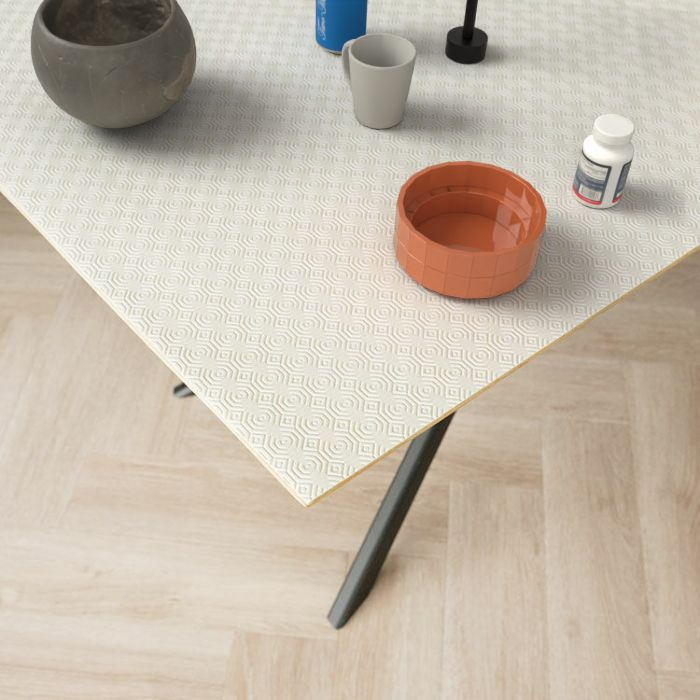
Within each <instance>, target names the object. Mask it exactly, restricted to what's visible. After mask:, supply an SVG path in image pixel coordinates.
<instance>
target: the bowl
mask: <svg viewBox="0 0 700 700" xmlns="http://www.w3.org/2000/svg"><path fill="white" fill-rule="evenodd" d="M197 55H198V54H197V44H196V39H195V35H194V31H193V28H192V26H191V24H190V21H189V19H188V16H186V13H185V11H184V10H183V8H182V7H181V5H180V4H179V2H178V1H177V0H42V1H41V3H40V4H39V6H38V8H37V10H36V13H35V14H34V17H33V21H32V26H31V32H30V56H31V63H32V66H33V70H34V73H35V75H36V78H37V81H38V82H39V83H40V86H41V87H42V89H43V91H44V92H45V94H46V95H47V97H49V99H50V100H51V101H52V102H53V104H55V105H56V106H57V107H58V108H59V109H60V110H61V111H63V112H64V113H66V114H67V115H69V116H71V117H72V118H74V119H76V120H78V121H80V122H83V123H84V124H87V125H91V126H94V127H99V128H103V129H104V128H105V129H126V128H130V127H135V126H138V125H141V124H142V125H143V124H145V123H148V122H150V121H152V120H154V119H157V118H158V117H160V116H162V115H163V114H164V113H166V112H167V111H168V110H170V109H171V108H172V107H173V106H174V105H175V104H176V103H178V101H180V99H181V98H182V97H183V96H184V94H185V93H186V92H187V91H188V88H189V87H190V85H191V83H192V81H193V78H194V74H195V71H196V66H197V57H198V56H197Z"/></svg>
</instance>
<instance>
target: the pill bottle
mask: <svg viewBox="0 0 700 700" xmlns="http://www.w3.org/2000/svg"><path fill="white" fill-rule="evenodd" d="M634 132H635V124H634V123H633V121H632V120H631V119H629V118H627V117H625V116H623V115H620V114H616V113H615V114H614V113H606V114H601V115H600V116H598V117H597V118H596V119H595V120H594V123H593V127H592V131H591V133H590V134H589V135H587V137H586V138H585V139H584V141H583V143H582V145H581V150H580V153H579V157H578V162H577V166H576V170H575V174H574V177H573V181H572V186H571V192H572V196H573V197H574V199H576V201H577V202H579V203H580V204H582V205H583V206H586V207H589V208H593V209H607V208H611V207H614V206H615V205H617V204H618V203H619V202H620V200H621V199H622V196H623V193H624V189H625V186H626V182H627V180H628V176H629V173H630V169H631V166H632V162H633V159H634V156H635V146H634V144H633V142H632V140H633V136H634Z"/></svg>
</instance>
